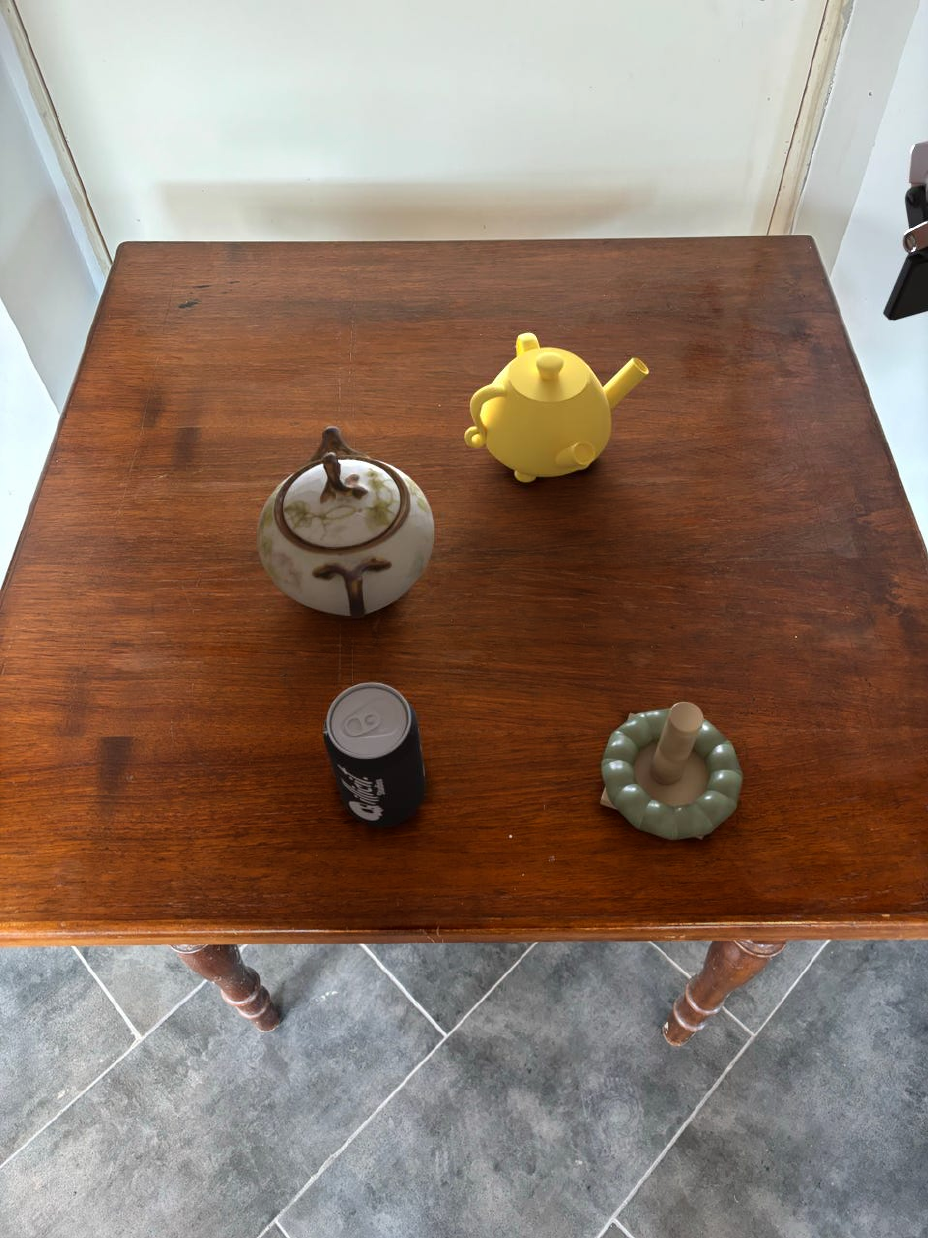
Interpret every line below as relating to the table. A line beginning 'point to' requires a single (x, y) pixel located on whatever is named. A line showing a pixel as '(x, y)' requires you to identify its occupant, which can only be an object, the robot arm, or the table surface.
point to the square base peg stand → (672, 761)
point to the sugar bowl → (345, 531)
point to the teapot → (547, 411)
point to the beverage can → (376, 754)
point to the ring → (657, 814)
